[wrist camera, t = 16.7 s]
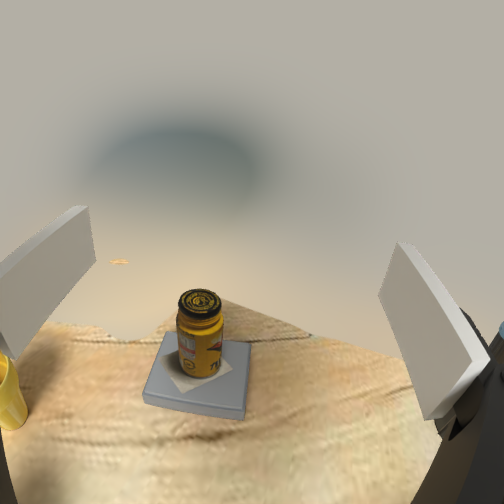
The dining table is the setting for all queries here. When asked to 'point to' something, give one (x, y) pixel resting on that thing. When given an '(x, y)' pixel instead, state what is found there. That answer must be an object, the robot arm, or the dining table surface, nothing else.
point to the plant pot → (10, 396)
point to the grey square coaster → (208, 394)
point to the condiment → (197, 341)
